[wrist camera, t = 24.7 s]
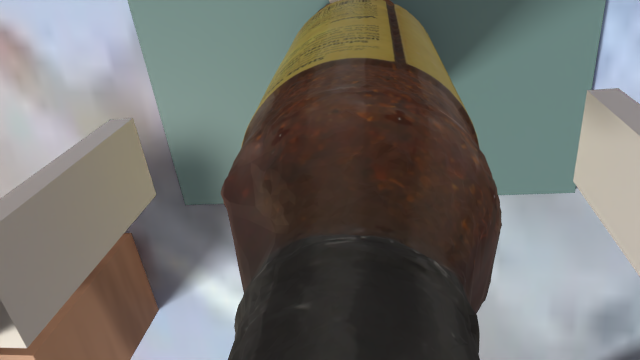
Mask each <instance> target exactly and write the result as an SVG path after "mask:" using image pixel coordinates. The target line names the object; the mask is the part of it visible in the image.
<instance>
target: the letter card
mask: <svg viewBox="0 0 640 360" xmlns="http://www.w3.org/2000/svg"><path fill="white" fill-rule="evenodd" d="M336 1H340V0H128V4H129V7H130V11H131V14H132V18H133V21H134V25H135V28H136V32H137V35H138V39H139V43H140V46H141V50H142V53H143V57H144V60H145V64H146V67H147V71H148V74H149V78H150V81H151V85H152V89H153V92H154V96H155V99H156V103H157V106H158V110H159V113H160V117H161V120H162V124H163V128H164V131H165V135H166V138H167V142H168V145H169V149H170V152H171V156H172V159H173V163H174V166H175V170H176V174H177V177H178V181H179V184H180V188H181V191H182V195H183V198H184V202H185V205H200V204H224V201H223V198H222V196H221V194H220V193H221V189H222V186H223V184H224V181H225V179H226V178H227V176H228V174H229V172H230V170H231V167H232V165H233V162H234V160H235V158H236V157H237V155H238V153H239V152H240V150H241V146H242V142H243V139H244V135H245V132H246V130H247V127H248V125H249V123H250V121H251V119H252V117H253V115H254V113H255V112H256V110H257V108H258V106H259V104H260V102H261V100H262V98H263V96H264V94H265V92H266V90H267V88H268V86H269V84H270V82H271V80H272V79H273V77H274V75H275V73H276V71H277V69H278V68H279V66H280V64H281V62H282V61H283V59H284V57H285V55H286V54H287V52H288V50H289V48H290V46H291V45H292V43H293V41H294V39H295V37H296V35H297V33H298V32H299V31H300V29H301V28H302V27H303V26H304V24H305V23H306V22H307V21H308V20H309V19H310V18H311V17H312V16H314V15H315V14H316V13H317V12H318V11H319V10H320V9H322V8H324V7H325V6H326V5H328V4H329V3H334V2H336ZM390 1H391V2H393V3H394V4H397V5H399V6H400V7H402V8H404V9H405V10H407V11H408V12H409V13H411V14H412V15H413V16H414V17H415V18H416V19H417V20H418V21H419V22H420V23H421V25H422V26H423V27H424V29H425V30H426V32H427V33H428V35H429V37H430V39H431V41H432V43H433V45H434V47H435V49H436V51H437V53H438V55H439V57H440V59H441V61H442V63H443V65H444V67H445V69H446V71H447V73H448V75H449V77H450V79H451V81H452V83H453V85H454V87H455V89H456V91H457V93H458V95H459V97H460V99H461V101H462V103H463V105H464V107H465V109H466V111H467V113H468V115H469V117H470V119H471V121H472V123H473V126H474V128H475V131H476V134H477V138H478V143H479V148H480V150H481V152H482V153H483V154H484V155H485V158H486V161H487V163H488V166H489V168H490V171H491V173H492V177H493V179H494V181H495V184H496V187H497V193H498V195H517V194H549V193H575V188H576V185H575V183H574V182H573V179H574V172H575V166H576V159H577V153H578V146H579V140H580V133H581V127H582V120H583V114H584V107H585V101H586V94H587V90H591V89H592V83H593V77H594V70H595V64H596V58H597V52H598V46H599V40H600V33H601V27H602V21H603V15H604V9H605V2H606V0H390Z"/></svg>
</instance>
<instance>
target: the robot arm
mask: <svg viewBox="0 0 640 360" xmlns="http://www.w3.org/2000/svg"><path fill="white" fill-rule="evenodd" d="M573 182H574V183H575V185H576V186H577V187H578V189H579V190H580V192H581V193H582V195H583V196H584V197H585V199H586V200H587V202H588V203H589V205H590V206H591V207H592V209H593V210H594V212H595V213H596V215H597V216H598V217H599V219H600V220H601V222H602V223H603V225H604V226H605V228H606V229H607V230H608V232H609V233H610V235H611V236H612V238H613V239H614V240H615V242H616V243H617V245H618V246H619V248H620V249H621V250H622V252H623V253H624V255H625V256H626V258H627V259H628V260H629V262H630V263H631V265H632V266H633V268H634V269H635V270H636V272H637V273H638V275H639V276H640V104H639V103H637V102H636V101H635V100H633V99H632V98H631V97H629V96H628V95H627V94H625V93H624V92H623V91H621V90H620V89H619V88H615V89H599V90H587V94H586V101H585V107H584V114H583V120H582V127H581V133H580V140H579V146H578V153H577V159H576V166H575V172H574V179H573ZM155 196H156V192H155V189H154V186H153V182H152V179H151V176H150V173H149V169H148V166H147V163H146V160H145V156H144V153H143V150H142V147H141V143H140V140H139V137H138V134H137V130H136V127H135V124H134V121H133V118H128V119H112V120H109V121H108V122H106V123H105V124H103V125H102V126H101V127H99V128H98V129H96V130H95V131H94V132H92V133H91V134H89V135H88V136H87V137H85V138H84V139H83V140H81V141H80V142H78V143H77V144H76V145H74V146H73V147H71V148H70V149H69V150H67V151H66V152H65V153H63V154H62V155H60V156H59V157H58V158H56V159H55V160H53V161H52V162H51V163H49V164H48V165H47V166H45V167H44V168H42V169H41V170H40V171H38V172H37V173H35V174H34V175H33V176H31V177H30V178H28V179H27V180H26V181H24V182H23V183H22V184H20V185H19V186H17V187H16V188H15V189H13V190H12V191H10V192H9V193H8V194H6V195H5V196H4V197H2V198H1V199H0V348H28V347H29V346H30V344H31V343H32V342H33V341H34V340H35V338H36V337H37V336H38V335H39V334H40V332H41V331H42V330H43V329H44V328H45V327H46V325H47V324H48V323H49V322H50V321H51V319H52V318H53V317H54V316H55V315H56V313H57V312H58V311H59V310H60V309H61V308H62V306H63V305H64V304H65V303H66V302H67V300H68V299H69V298H70V297H71V296H72V294H73V293H74V292H75V291H76V290H77V289H78V287H79V286H80V285H81V284H82V283H83V281H84V280H85V279H86V278H87V277H88V275H89V274H90V273H91V272H92V271H93V270H94V268H95V267H96V266H97V265H98V264H99V262H100V261H101V260H102V259H103V258H104V256H105V255H106V254H107V253H108V252H109V251H110V249H111V248H112V247H113V246H114V245H115V243H116V242H117V241H118V240H119V239H120V237H121V236H122V235H123V234H124V233H125V232H126V230H127V229H128V228H129V227H130V226H131V224H132V223H133V222H134V221H135V220H136V218H137V217H138V216H139V215H140V214H141V213H142V211H143V210H144V209H145V208H146V207H147V205H148V204H149V203H150V202H151V201H152V199H153V198H154V197H155Z"/></svg>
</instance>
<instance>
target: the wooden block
mask: <svg viewBox="0 0 640 360" xmlns="http://www.w3.org/2000/svg"><path fill="white" fill-rule="evenodd" d="M158 310H159V309H158V306H157V304H156V301H155V298H154V295H153V292H152V290H151V287H150V284H149V281H148V279H147V276H146V273H145V270H144V267H143V265H142V262H141V259H140V256H139V254H138V251H137V248H136V245H135V242H134V240H133V237H132V234H131V233H124V234H123V235H122V236H121V237H120V239H119V240H118V241H117V242H116V243H115V245H114V246H113V247H112V248H111V249H110V251H109V252H108V253H107V254H106V255H105V256H104V258H103V259H102V260H101V261H100V262H99V264H98V265H97V266H96V267H95V268H94V270H93V271H92V272H91V273H90V274H89V275H88V277H87V278H86V279H85V280H84V281H83V283H82V284H81V285H80V286H79V287H78V289H77V290H76V291H75V292H74V293H73V294H72V296H71V297H70V298H69V299H68V300H67V302H66V303H65V304H64V305H63V306H62V308H61V309H60V310H59V311H58V312H57V313H56V315H55V316H54V317H53V318H52V319H51V321H50V322H49V323H48V324H47V325H46V327H45V328H44V329H43V330H42V331H41V332H40V334H39V335H38V336H37V337H36V338H35V340H34V341H33V342H32V343H31V344H30V346H29V347H28V348H0V360H130V359H131V357H132V355H133V354H134V352H135V350H136V348H137V347H138V345H139V343H140V342H141V340H142V338H143V336H144V335H145V333H146V331H147V329H148V328H149V326H150V324H151V322H152V321H153V319H154V317H155V316H156V314H157V312H158Z"/></svg>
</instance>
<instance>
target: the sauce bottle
mask: <svg viewBox="0 0 640 360" xmlns="http://www.w3.org/2000/svg"><path fill="white" fill-rule="evenodd" d="M220 194H221V196H222V198H223V201H224V205H225V206H226V208H227V211H228V216H229V220H230V225H231V230H232V235H233V240H234V245H235V250H236V256H237V261H238V266H239V271H240V276H241V281H242V286H243V290H244V295H243V298H242V300H241V302H240V304H239V305H238V309H237V313H236V317H235V325H234V327H235V333H236V334H235V341H234V343H233V346H232V349H231V352H230V355H229V358H228V360H480V359H479V355H478V353H479V325H478V319H477V315H476V313H477V312H478V310H479V309H480V307H481V304H482V303H483V302H484V301H485V299H486V296H487V293H488V289H489V285H490V282H491V274H492V269H493V264H494V258H495V254H496V249H497V244H498V240H499V235H500V229H501V226H502V223H501V209H500V200H499V197H498V193H497V187H496V184H495V181H494V179H493V177H492V173H491V171H490V168H489V166H488V163H487V161H486V158H485V155H484V154H483V153H482V152H481V150H480V148H479V143H478V138H477V134H476V131H475V128H474V126H473V123H472V121H471V119H470V117H469V115H468V113H467V111H466V109H465V107H464V105H463V103H462V101H461V99H460V97H459V95H458V93H457V91H456V89H455V87H454V85H453V83H452V81H451V79H450V77H449V75H448V73H447V71H446V69H445V67H444V65H443V63H442V61H441V59H440V57H439V55H438V53H437V51H436V49H435V47H434V45H433V43H432V41H431V39H430V37H429V35H428V33H427V32H426V30H425V29H424V27H423V26H422V25H421V23H420V22H419V21H418V20H417V19H416V18H415V17H414V16H413V15H412V14H411V13H409V12H408V11H407V10H405V9H404V8H402V7H400V6H399V5H397V4H394V3H393V2H391V1H390V0H340V1H336V2H334V3H329V4H328V5H326V6H325V7H324V8H322V9H320V10H319V11H318V12H317V13H316V14H315V15H314V16H312V17H311V18H310V19H309V20H308V21H307V22H306V23H305V24H304V26H303V27H302V28H301V29H300V31H299V32H298V33H297V35H296V37H295V39H294V41H293V43H292V45H291V46H290V48H289V50H288V52H287V54H286V55H285V57H284V59H283V61H282V62H281V64H280V66H279V68H278V69H277V71H276V73H275V75H274V77H273V79H272V80H271V82H270V84H269V86H268V88H267V90H266V92H265V94H264V96H263V98H262V100H261V102H260V104H259V106H258V108H257V110H256V112H255V113H254V115H253V117H252V119H251V121H250V123H249V125H248V127H247V130H246V132H245V135H244V139H243V142H242V146H241V150H240V152H239V153H238V155H237V157H236V158H235V160H234V162H233V165H232V167H231V170H230V172H229V174H228V176H227V178H226V179H225V181H224V184H223V186H222V189H221V193H220Z"/></svg>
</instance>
